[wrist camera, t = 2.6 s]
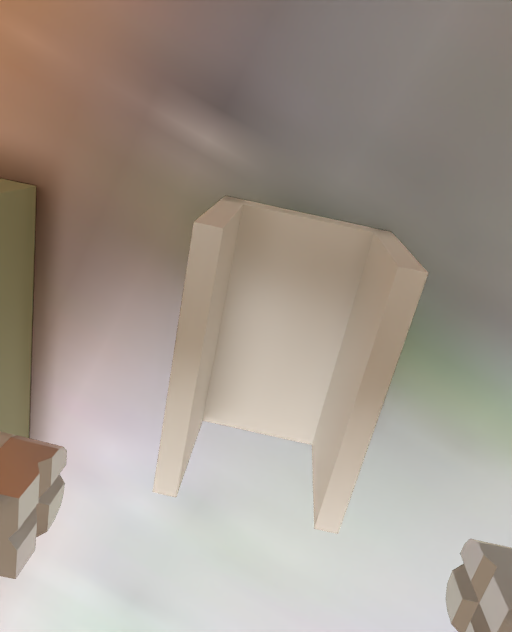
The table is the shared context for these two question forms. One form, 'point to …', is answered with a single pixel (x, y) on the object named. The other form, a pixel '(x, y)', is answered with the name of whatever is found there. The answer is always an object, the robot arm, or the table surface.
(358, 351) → the chute
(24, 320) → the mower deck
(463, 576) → the robot arm
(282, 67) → the table surface
